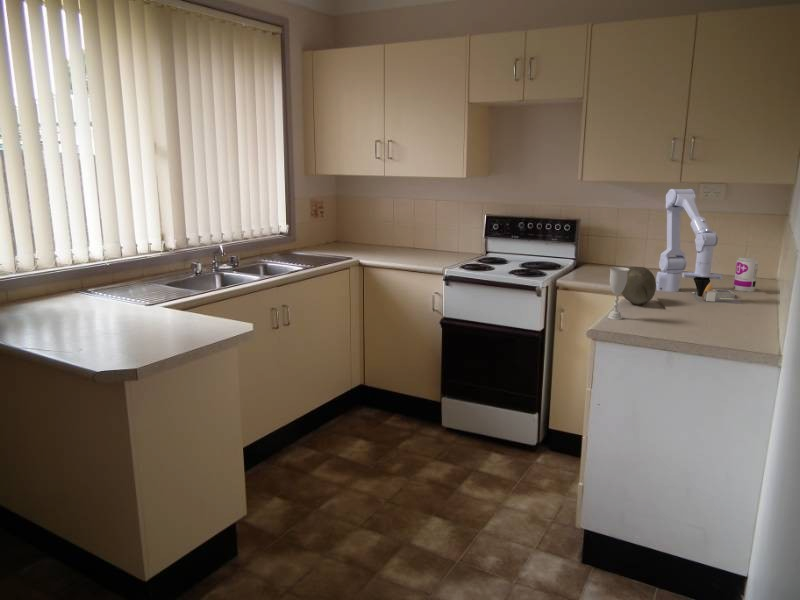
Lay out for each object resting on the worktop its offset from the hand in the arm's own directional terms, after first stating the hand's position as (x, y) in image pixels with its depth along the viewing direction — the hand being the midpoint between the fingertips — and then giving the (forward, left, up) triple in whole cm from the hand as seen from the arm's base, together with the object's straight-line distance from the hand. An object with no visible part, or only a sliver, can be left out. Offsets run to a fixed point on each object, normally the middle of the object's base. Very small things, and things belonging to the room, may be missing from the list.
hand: (699, 296), depth 253 cm
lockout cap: (+5, +9, -2) cm, 10 cm away
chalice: (-37, -34, -3) cm, 50 cm away
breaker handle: (+4, 0, -2) cm, 4 cm away
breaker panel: (+8, +6, -3) cm, 10 cm away
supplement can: (+25, +27, -3) cm, 37 cm away
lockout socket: (+12, +11, -2) cm, 16 cm away
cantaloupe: (-26, -9, -3) cm, 27 cm away
